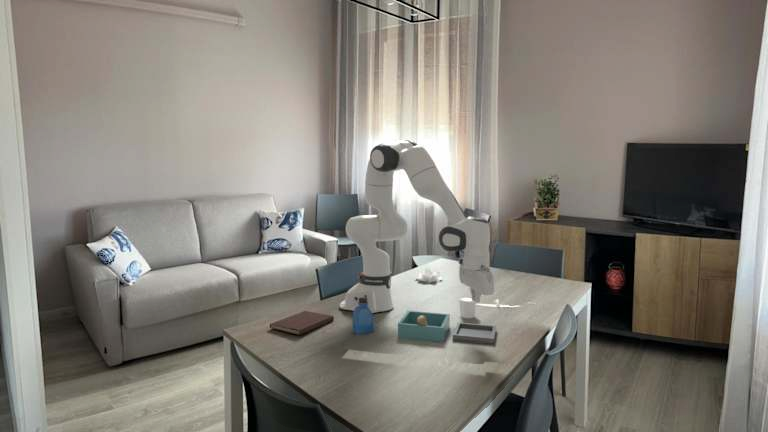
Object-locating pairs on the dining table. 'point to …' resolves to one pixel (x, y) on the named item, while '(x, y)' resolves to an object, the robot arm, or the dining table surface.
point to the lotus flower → (429, 276)
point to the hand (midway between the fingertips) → (475, 301)
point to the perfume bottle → (362, 318)
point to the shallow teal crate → (424, 326)
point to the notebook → (301, 322)
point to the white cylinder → (467, 307)
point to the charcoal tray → (474, 333)
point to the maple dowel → (422, 320)
